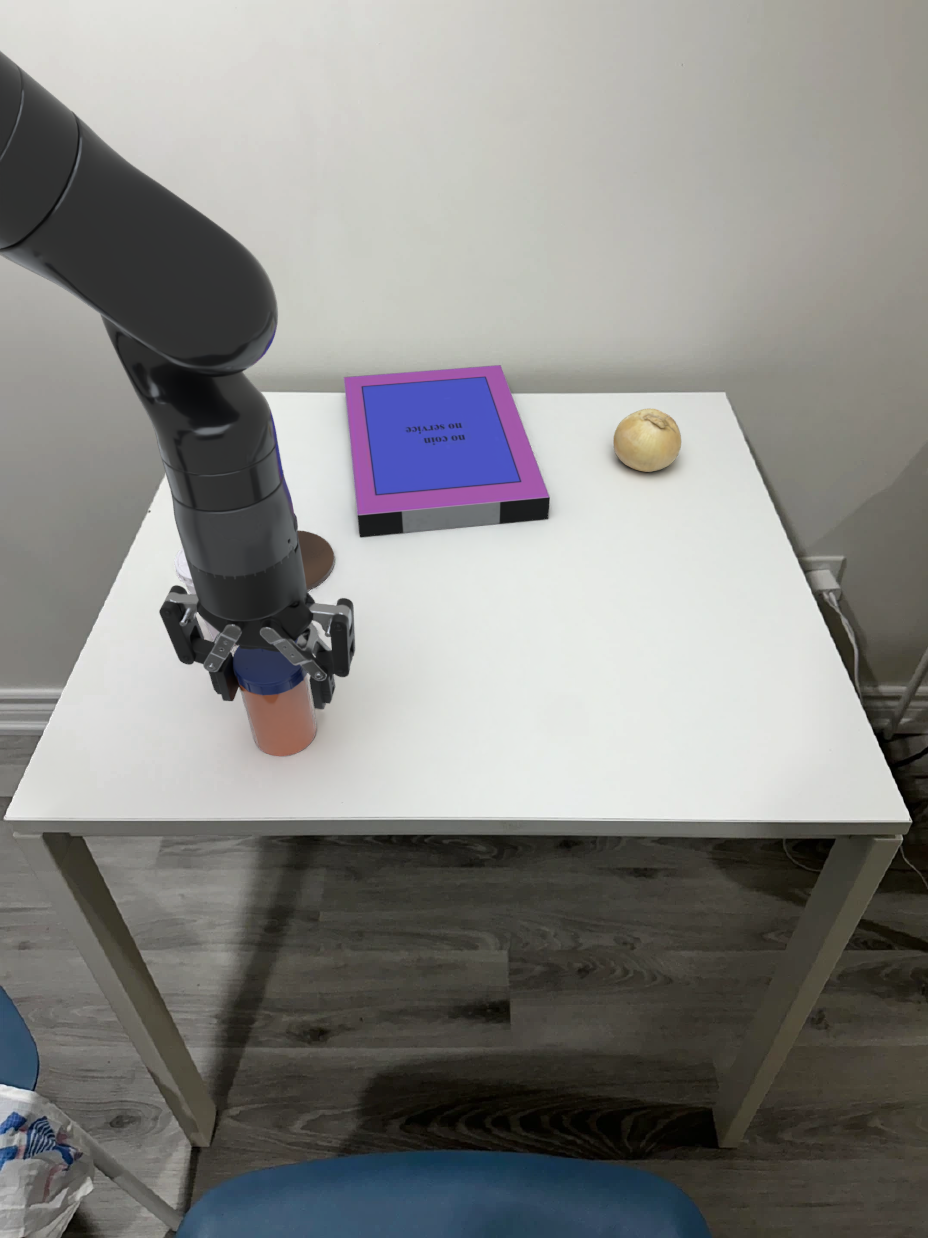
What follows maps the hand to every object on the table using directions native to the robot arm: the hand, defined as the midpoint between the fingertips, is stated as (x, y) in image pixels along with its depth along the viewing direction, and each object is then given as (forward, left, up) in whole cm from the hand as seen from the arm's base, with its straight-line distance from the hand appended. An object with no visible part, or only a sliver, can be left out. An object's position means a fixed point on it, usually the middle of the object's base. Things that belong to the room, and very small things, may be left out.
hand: (277, 696), depth 68 cm
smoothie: (-10, +12, -7) cm, 17 cm away
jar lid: (-1, +2, +3) cm, 3 cm away
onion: (+30, +48, -7) cm, 57 cm away
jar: (-1, +1, -6) cm, 7 cm away
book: (+5, +46, -7) cm, 47 cm away
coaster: (-7, +23, -6) cm, 25 cm away
